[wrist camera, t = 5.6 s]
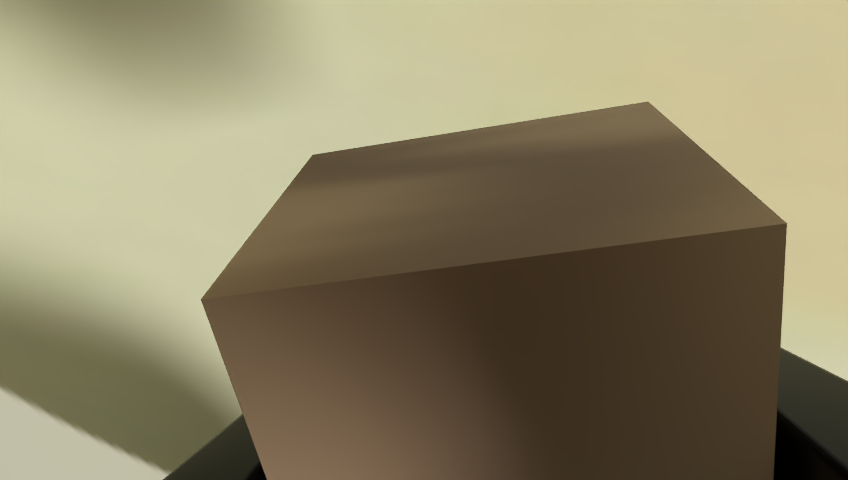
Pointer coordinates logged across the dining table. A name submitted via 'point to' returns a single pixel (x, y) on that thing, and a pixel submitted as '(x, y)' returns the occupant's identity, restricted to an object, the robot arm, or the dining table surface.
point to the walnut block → (511, 310)
